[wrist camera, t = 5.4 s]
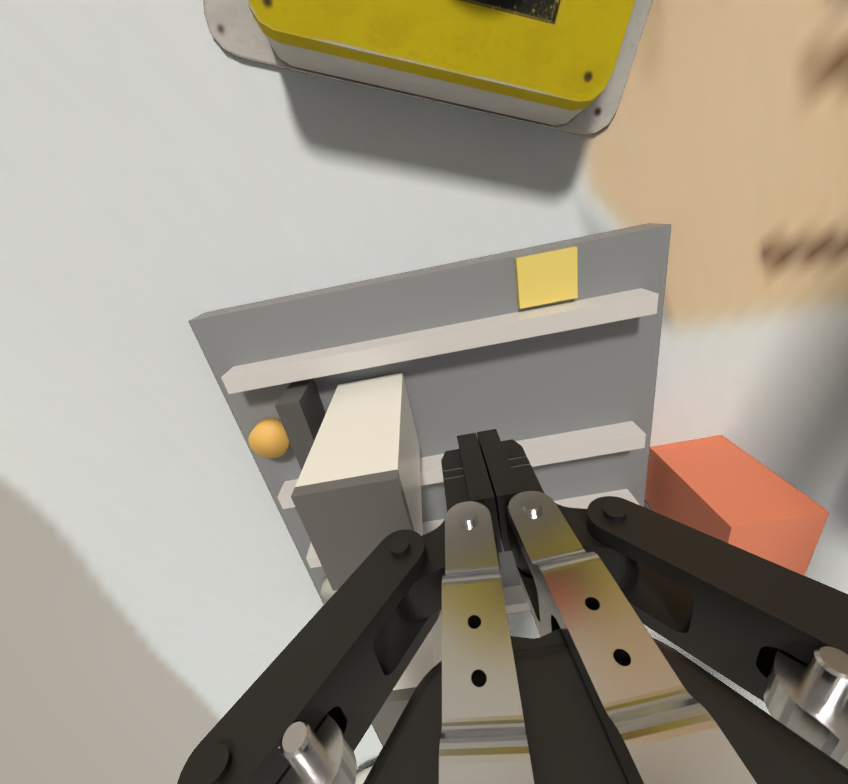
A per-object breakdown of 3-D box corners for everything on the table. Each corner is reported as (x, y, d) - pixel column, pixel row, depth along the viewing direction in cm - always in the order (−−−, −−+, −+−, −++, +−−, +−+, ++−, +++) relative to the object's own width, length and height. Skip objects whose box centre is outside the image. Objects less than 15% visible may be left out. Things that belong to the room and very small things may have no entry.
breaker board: (649, 223, 16) (716, 226, 12) (623, 568, 25) (657, 625, 22) (206, 312, 17) (152, 338, 13) (341, 612, 26) (330, 673, 23)
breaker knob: (427, 546, 22) (435, 695, 15) (439, 591, 23) (450, 742, 17) (377, 554, 22) (362, 706, 15) (392, 598, 23) (385, 751, 17)
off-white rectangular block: (402, 372, 17) (397, 478, 10) (419, 445, 18) (424, 576, 12) (337, 384, 17) (290, 496, 10) (360, 455, 19) (332, 590, 12)
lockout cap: (721, 434, 21) (829, 512, 16) (710, 489, 23) (804, 575, 17) (649, 446, 21) (731, 527, 16) (644, 499, 23) (716, 588, 17)
